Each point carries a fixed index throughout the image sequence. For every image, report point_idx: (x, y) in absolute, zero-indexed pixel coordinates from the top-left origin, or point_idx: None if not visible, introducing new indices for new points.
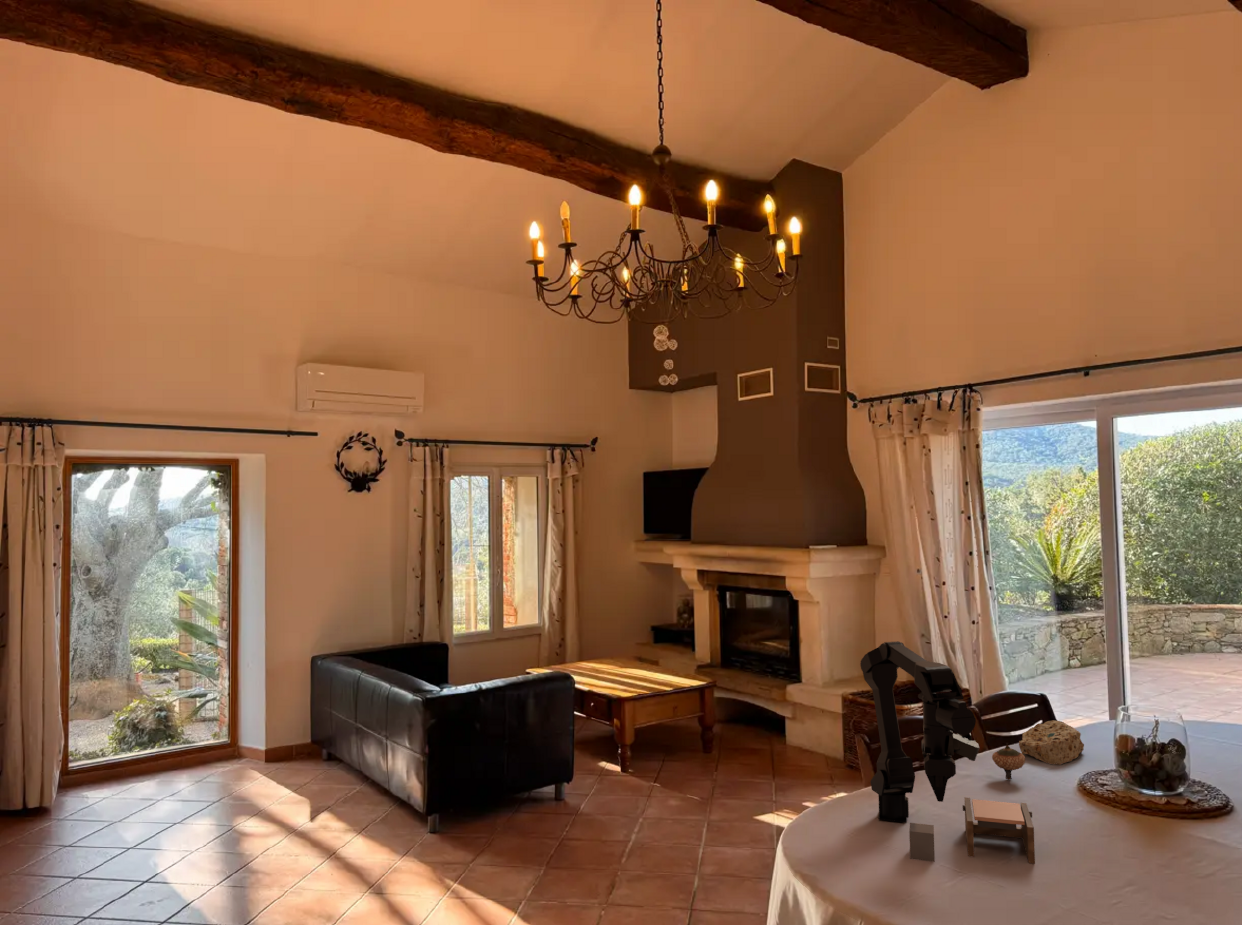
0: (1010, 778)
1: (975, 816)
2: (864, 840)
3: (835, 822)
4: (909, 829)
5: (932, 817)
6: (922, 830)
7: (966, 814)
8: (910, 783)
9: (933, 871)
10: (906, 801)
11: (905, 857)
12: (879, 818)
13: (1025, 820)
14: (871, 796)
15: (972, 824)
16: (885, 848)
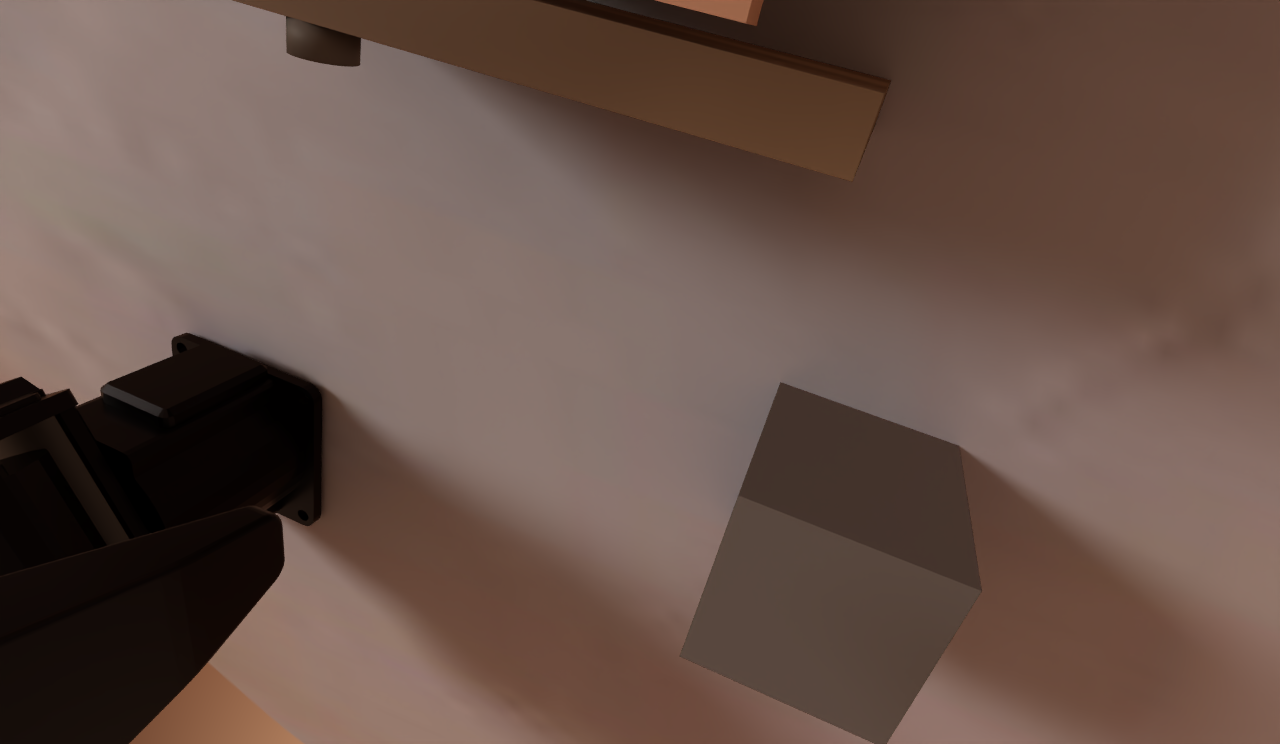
0: None
1: (748, 5)
2: (604, 693)
3: (395, 712)
4: (842, 728)
5: (185, 179)
6: (877, 645)
7: (605, 107)
8: (29, 490)
9: (1154, 525)
10: (171, 420)
11: None
12: (314, 521)
13: None
14: None
15: (882, 100)
16: None
